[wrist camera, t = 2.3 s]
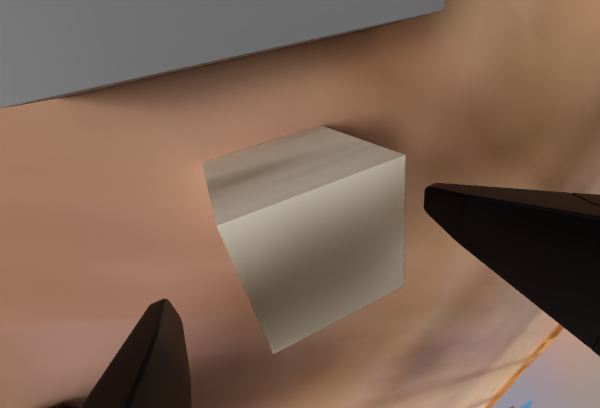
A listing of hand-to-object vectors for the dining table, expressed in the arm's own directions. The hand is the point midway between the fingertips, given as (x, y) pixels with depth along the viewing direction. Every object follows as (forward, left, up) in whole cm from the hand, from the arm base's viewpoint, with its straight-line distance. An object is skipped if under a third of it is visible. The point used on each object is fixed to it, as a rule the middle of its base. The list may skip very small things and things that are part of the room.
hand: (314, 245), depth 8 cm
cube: (0, 0, -4) cm, 4 cm away
